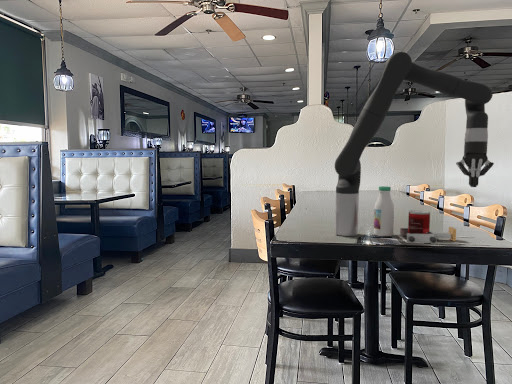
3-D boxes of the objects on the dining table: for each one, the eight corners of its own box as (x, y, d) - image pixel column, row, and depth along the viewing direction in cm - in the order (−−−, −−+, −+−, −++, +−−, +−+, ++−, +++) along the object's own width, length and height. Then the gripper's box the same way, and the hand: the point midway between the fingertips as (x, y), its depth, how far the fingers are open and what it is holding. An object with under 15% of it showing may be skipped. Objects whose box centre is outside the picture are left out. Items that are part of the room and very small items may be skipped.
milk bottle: (393, 233, 163) (394, 186, 161) (393, 237, 156) (394, 187, 154) (374, 232, 165) (375, 185, 164) (373, 236, 158) (374, 187, 157)
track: (406, 242, 145) (406, 242, 145) (397, 235, 160) (397, 234, 160) (489, 245, 141) (489, 244, 141) (472, 237, 156) (472, 236, 156)
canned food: (425, 237, 155) (426, 210, 154) (432, 241, 147) (433, 212, 146) (405, 237, 156) (406, 209, 155) (411, 241, 148) (412, 212, 147)
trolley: (407, 242, 145) (408, 230, 144) (399, 234, 160) (399, 223, 159) (460, 243, 142) (461, 231, 142) (446, 235, 157) (447, 224, 157)
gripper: (460, 140, 143) (458, 187, 144) (499, 140, 141) (496, 188, 142) (453, 141, 150) (451, 186, 152) (490, 141, 148) (487, 186, 150)
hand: (473, 186), depth 147 cm, fingers closed
